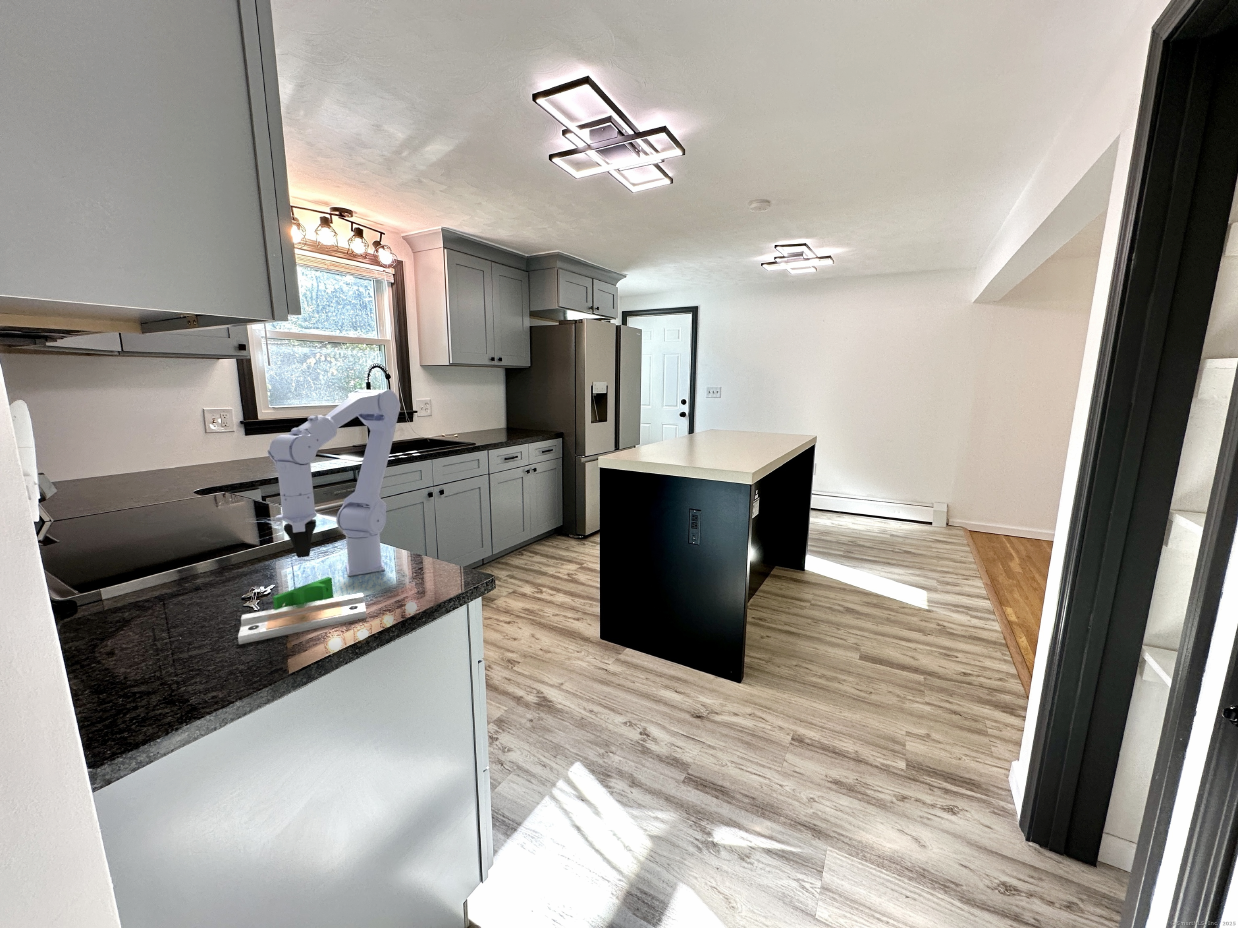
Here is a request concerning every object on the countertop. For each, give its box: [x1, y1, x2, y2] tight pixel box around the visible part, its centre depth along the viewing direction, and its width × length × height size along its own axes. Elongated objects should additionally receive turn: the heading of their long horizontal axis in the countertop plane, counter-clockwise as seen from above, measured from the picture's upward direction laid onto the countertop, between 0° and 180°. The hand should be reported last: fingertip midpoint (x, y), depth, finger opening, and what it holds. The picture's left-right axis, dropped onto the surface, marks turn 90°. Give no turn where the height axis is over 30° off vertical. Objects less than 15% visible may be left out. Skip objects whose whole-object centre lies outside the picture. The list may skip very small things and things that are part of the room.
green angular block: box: [272, 576, 334, 609], centre depth 101 cm, size 11×4×5 cm, turn 153°
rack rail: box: [237, 592, 367, 645], centre depth 95 cm, size 7×20×2 cm, turn 121°
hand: (303, 556), depth 106 cm, fingers closed
